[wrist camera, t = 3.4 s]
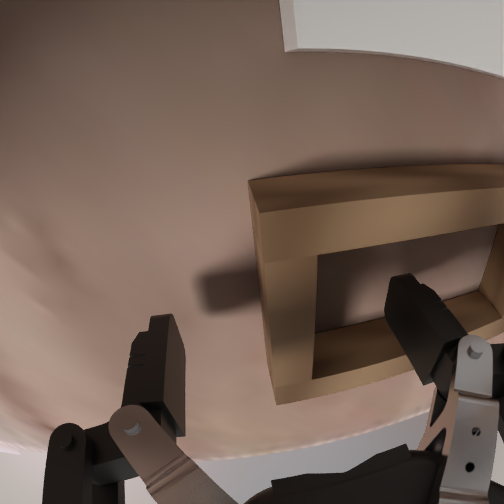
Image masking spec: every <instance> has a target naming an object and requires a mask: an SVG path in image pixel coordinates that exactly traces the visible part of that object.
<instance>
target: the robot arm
mask: <svg viewBox="0 0 504 504" xmlns="http://www.w3.org/2000/svg"><path fill="white" fill-rule="evenodd" d="M384 313H385V318H386V321H387V323H388V325H389V327H390V328H391V330H392V332H393V333H394V335H395V337H396V338H397V340H398V342H399V343H400V345H401V347H402V348H403V350H404V352H405V354H406V355H407V357H408V359H409V361H410V362H411V364H412V366H413V368H414V369H415V371H416V373H417V375H418V377H419V378H420V380H421V382H422V384H423V386H424V385H427V384H429V383H432V382H434V383H435V385H436V387H435V389H434V393H433V398H432V403H431V408H430V412H429V417H428V421H427V426H426V429H425V433H424V435H423V437H422V439H421V441H420V443H419V446H418V448H417V450H408V447H407V445H406V444H403V445H401V446H398V447H396V448H393V449H390V450H387V451H385V452H382V453H379V454H376V455H374V456H373V457H371V458H369V459H368V460H366V461H364V462H363V463H361V464H359V465H358V466H356V467H354V468H352V469H351V470H349V471H347V472H344V473H326V474H302V475H298V476H293V477H287V478H282V479H276V480H272V481H271V483H272V487H270V488H267V489H265V490H263V491H261V492H259V493H257V494H256V495H254V496H253V497H251V498H250V499H249V500H248V501H246V502H245V503H244V504H504V486H502V485H500V484H498V483H496V482H494V481H491V474H492V469H493V462H494V455H495V449H496V440H497V431H499V433H500V435H501V437H502V440H503V442H504V343H502V344H489V343H488V342H487V341H486V340H485V339H484V338H482V337H480V336H477V335H469V334H468V333H467V332H466V330H465V329H464V328H463V326H462V325H461V324H460V323H459V321H458V320H457V319H456V317H455V316H454V315H453V314H452V312H451V311H450V310H449V309H447V306H446V305H445V303H444V302H443V301H441V298H440V297H439V296H438V295H437V294H436V292H435V291H434V290H432V289H431V288H429V287H428V286H426V285H425V284H420V283H419V282H418V281H417V280H416V278H415V277H414V276H413V275H412V274H410V273H408V274H403V275H398V276H394V277H392V278H391V279H390V282H389V288H388V293H387V297H386V302H385V307H384ZM185 364H186V357H185V349H184V344H183V341H182V338H181V336H180V333H179V330H178V327H177V324H176V322H175V319H174V316H173V314H164V315H156V316H151V318H150V323H149V329H148V331H145V332H139V333H138V335H137V336H136V338H135V339H134V341H133V342H132V345H131V351H130V358H129V362H128V368H127V374H126V380H125V386H124V393H123V400H122V405H121V408H120V409H118V410H117V411H116V412H115V413H114V414H113V415H112V416H111V418H110V421H109V422H107V423H105V424H102V425H99V426H95V427H92V428H89V429H85V430H83V429H82V428H81V427H79V426H78V425H76V424H73V423H65V424H62V425H60V426H58V427H57V428H56V429H55V430H54V431H53V433H52V434H51V436H50V440H49V446H48V452H47V460H46V468H45V477H44V487H43V499H42V500H43V501H42V504H125V491H124V490H125V489H124V480H127V479H131V478H134V477H138V476H140V478H141V479H142V480H143V481H144V483H145V484H146V486H147V487H146V488H147V490H148V492H149V493H150V495H151V496H152V497H153V499H154V500H155V501H156V502H157V503H158V504H238V503H237V502H236V501H235V500H233V499H232V498H231V497H230V496H229V495H228V494H227V493H226V492H225V491H224V490H222V489H221V488H220V487H219V486H218V485H217V484H216V483H215V482H214V481H213V480H212V479H211V478H210V477H209V476H208V475H207V474H206V473H205V472H204V471H203V470H202V469H201V468H199V466H198V465H197V464H196V463H195V462H194V461H193V460H192V459H190V458H189V457H188V456H187V455H186V454H185V453H184V452H183V451H182V450H181V449H180V448H179V447H178V446H177V445H176V437H183V436H185Z"/></svg>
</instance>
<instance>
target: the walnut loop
mask: <svg viewBox="0 0 504 504" xmlns="http://www.w3.org/2000/svg"><path fill="white" fill-rule="evenodd" d="M248 188H249V197H250V206H251V215H252V225H253V234H254V243H255V252H256V261H257V271H258V280H259V289H260V298H261V308H262V317H263V326H264V336H265V345H266V355H267V363H268V368H269V373H270V377H271V382H272V387H273V391H274V396H275V401H276V405H281V404H286V403H291V402H296V401H301V400H306V399H310V398H315V397H319V396H324V395H328V394H332V393H336V392H340V391H344V390H348V389H352V388H355V387H359V386H363V385H366V384H370V383H373V382H377V381H380V380H383V379H386V378H390V377H393V376H396V375H399V374H402V373H405V372H408V371H411V370H414V368H413V366H412V364H411V362H410V361H409V359H408V357H407V355H406V354H405V352H404V350H403V348H402V347H401V345H400V343H399V342H398V340H397V338H396V337H395V335H394V333H393V332H392V330H391V328H390V327H389V325H388V323H387V321H386V318H381V319H377V320H373V321H369V322H365V323H361V324H356V325H352V326H347V327H343V328H338V329H334V330H329V331H324V332H320V333H315V317H316V291H317V255H320V254H327V253H333V252H339V251H345V250H351V249H357V248H363V247H369V246H375V245H381V244H387V243H393V242H399V241H405V240H411V239H417V238H423V237H428V236H434V235H440V234H446V233H451V232H457V231H463V230H468V229H474V228H480V227H485V226H491V225H496V224H499V226H498V230H497V233H496V237H495V241H494V244H493V248H492V251H491V254H490V257H489V261H488V264H487V267H486V270H485V273H484V276H483V279H482V281H481V284H480V287H479V290H478V291H475V292H471V293H468V294H465V295H462V296H459V297H456V298H453V299H449V300H446V301H443V302H444V303H445V305H446V306H447V309H449V310H450V311H451V312H452V314H453V315H454V316H455V317H456V319H457V320H458V321H459V323H460V324H461V325H462V326H463V328H464V329H465V330H466V332H467V333H468V334H469V335H477V336H480V337H482V338H484V339H485V340H488V339H490V338H492V337H494V336H497V335H499V334H501V333H503V332H504V164H447V165H417V166H397V167H380V168H365V169H352V170H340V171H329V172H319V173H309V174H300V175H291V176H282V177H274V178H266V179H258V180H250V181H248Z"/></svg>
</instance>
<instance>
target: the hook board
mask: <svg viewBox="0 0 504 504" xmlns="http://www.w3.org/2000/svg"><path fill="white" fill-rule="evenodd" d="M279 4H280V12H281V21H282V30H283V40H284V50H285V52H345V53H362V54H375V55H385V56H394V57H402V58H410V59H417V60H423V61H429V62H435V63H440V64H445V65H450V66H455V67H460V68H464V69H468V70H472V71H476V72H480V73H484V74H488V75H491V76H495V77H498V78H502V79H504V0H279Z"/></svg>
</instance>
